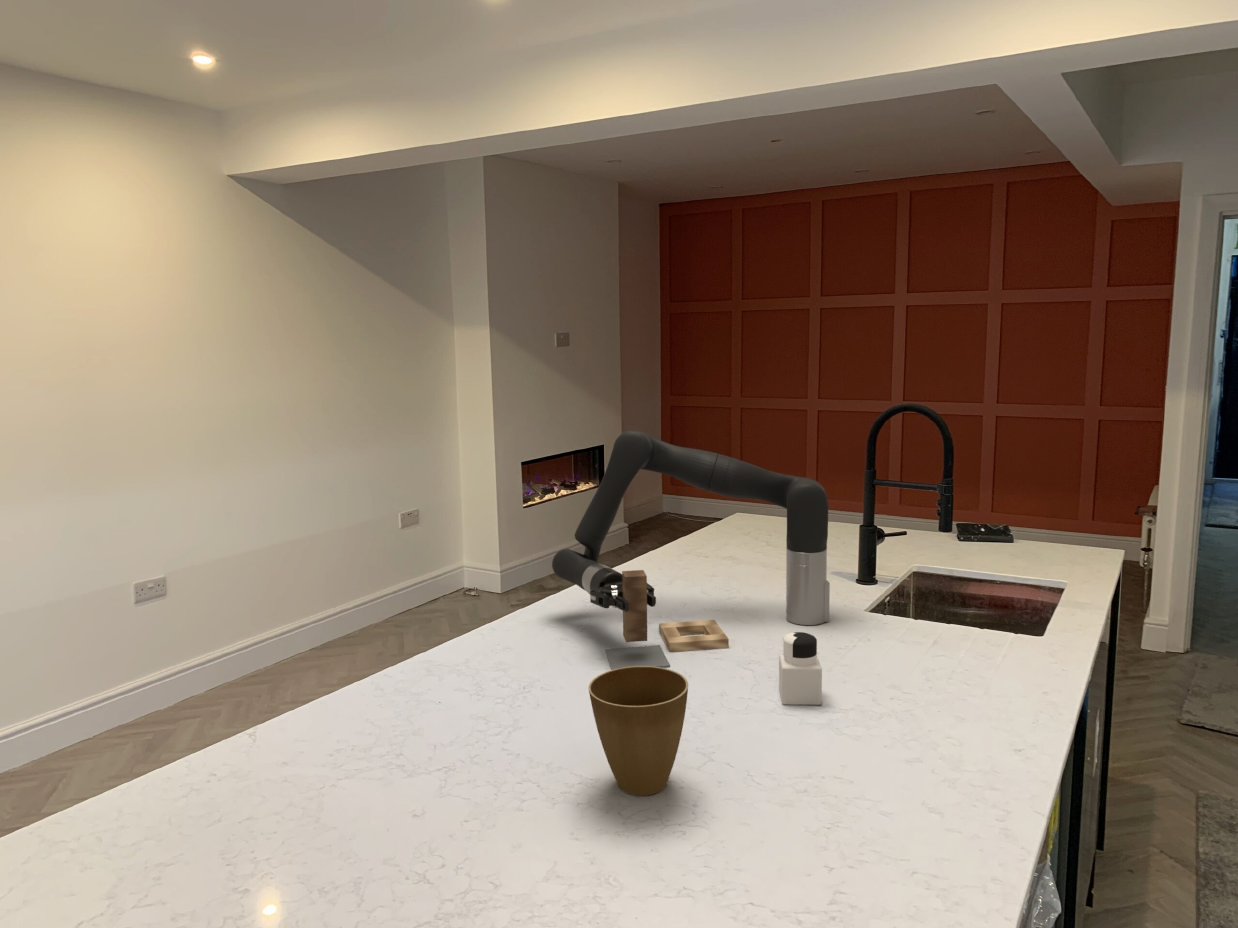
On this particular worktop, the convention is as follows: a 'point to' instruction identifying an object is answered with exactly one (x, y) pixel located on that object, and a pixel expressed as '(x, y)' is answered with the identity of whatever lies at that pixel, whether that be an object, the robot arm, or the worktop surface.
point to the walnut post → (635, 605)
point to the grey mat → (637, 657)
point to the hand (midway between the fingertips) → (640, 604)
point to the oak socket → (709, 640)
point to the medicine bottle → (800, 670)
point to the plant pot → (640, 724)
